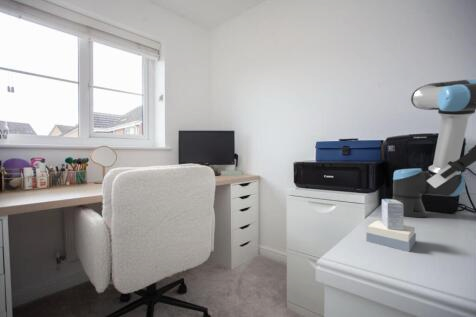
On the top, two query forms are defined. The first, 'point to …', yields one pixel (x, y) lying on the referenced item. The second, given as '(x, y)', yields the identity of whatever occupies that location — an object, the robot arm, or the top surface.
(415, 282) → the top surface
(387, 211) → the medicine box
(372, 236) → the cream grey flat block
